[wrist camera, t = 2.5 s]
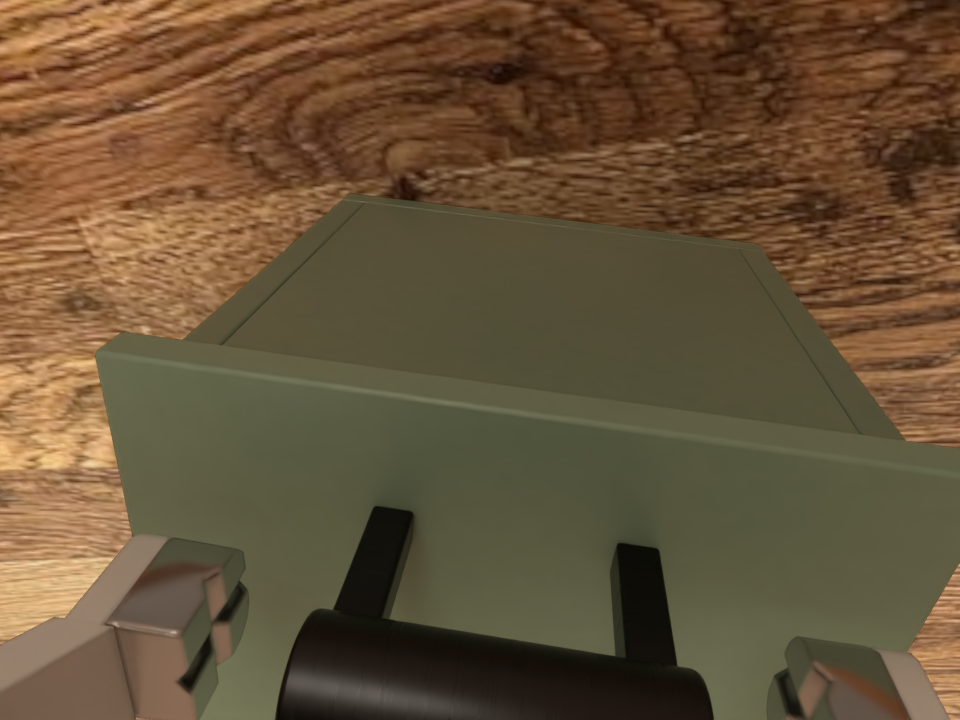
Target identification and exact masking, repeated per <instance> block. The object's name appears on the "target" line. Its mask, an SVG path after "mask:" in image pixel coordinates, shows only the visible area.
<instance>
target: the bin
mask: <svg viewBox="0 0 960 720" xmlns="http://www.w3.org/2000/svg"><path fill="white" fill-rule="evenodd" d="M183 340H187V341H194V342H201V343H208V344H215V345H222V346H230V347H237V348H244V349H251V350H258V351H265V352H273V353H280V354H287V355H294V356H301V357H308V358H316V359H323V360H330V361H337V362H344V363H351V364H359V365H366V366H373V367H380V368H387V369H395V370H402V371H409V372H416V373H423V374H430V375H438V376H445V377H452V378H459V379H466V380H473V381H481V382H488V383H495V384H502V385H509V386H516V387H524V388H531V389H538V390H545V391H552V392H559V393H567V394H574V395H581V396H588V397H595V398H602V399H610V400H617V401H624V402H631V403H638V404H645V405H653V406H660V407H667V408H674V409H681V410H688V411H696V412H703V413H710V414H717V415H724V416H731V417H739V418H746V419H753V420H760V421H767V422H774V423H782V424H789V425H796V426H803V427H810V428H817V429H825V430H832V431H839V432H846V433H853V434H860V435H868V436H875V437H882V438H889V439H896V440H903V441H906V440H905V439H904V438H903V436H902V435H901V434H900V432H899V431H898V430H897V428H896V427H895V426H894V424H893V423H892V422H891V420H890V419H889V418H888V416H887V415H886V414H885V412H884V411H883V410H882V408H881V407H880V406H879V404H878V403H877V402H876V401H875V399H874V398H873V397H872V395H871V394H870V393H869V391H868V390H867V389H866V387H865V386H864V385H863V383H862V382H861V381H860V379H859V378H858V377H857V375H856V374H855V373H854V371H853V370H852V369H851V367H850V366H849V365H848V363H847V362H846V361H845V359H844V358H843V357H842V355H841V354H840V353H839V351H838V350H837V349H836V347H835V346H834V345H833V344H832V342H831V341H830V340H829V338H828V337H827V336H826V334H825V333H824V332H823V330H822V329H821V328H820V326H819V325H818V324H817V322H816V321H815V320H814V318H813V317H812V316H811V314H810V313H809V312H808V310H807V309H806V308H805V306H804V305H803V304H802V302H801V301H800V300H799V298H798V297H797V296H796V294H795V293H794V292H793V291H792V289H791V288H790V287H789V285H788V284H787V283H786V281H785V280H784V279H783V277H782V276H781V275H780V273H779V272H778V271H777V269H776V268H775V267H774V265H773V264H772V263H771V261H770V260H769V259H768V257H767V256H766V255H765V253H764V252H763V250H762V249H761V248H760V246H759V245H758V244H757V243H749V242H741V241H733V240H724V239H716V238H708V237H700V236H692V235H684V234H676V233H668V232H660V231H652V230H644V229H635V228H627V227H619V226H611V225H603V224H595V223H587V222H579V221H571V220H563V219H555V218H546V217H538V216H530V215H522V214H514V213H506V212H498V211H490V210H482V209H474V208H466V207H457V206H449V205H441V204H433V203H425V202H417V201H409V200H401V199H393V198H385V197H377V196H368V195H360V194H352V193H349V194H347V195H346V196H345V197H344V198H343V199H342V200H341V201H340V202H339V203H338V204H337V205H336V206H335V207H333V208H332V209H331V210H330V211H329V212H328V213H327V214H325V215H324V216H323V217H322V218H321V219H320V220H319V221H317V222H316V223H315V224H314V225H313V226H312V227H311V228H309V229H308V230H307V231H306V232H305V233H304V234H303V235H301V236H300V237H299V238H298V239H297V240H296V241H295V242H293V243H292V244H291V245H290V246H289V247H288V248H287V249H285V250H284V251H283V252H282V253H281V254H280V255H279V256H277V257H276V258H275V259H274V260H273V261H272V262H271V263H269V264H268V265H267V266H266V267H265V268H264V269H263V270H261V271H260V272H259V273H258V274H257V275H256V276H255V277H253V278H252V279H251V280H250V281H249V282H248V283H247V284H245V285H244V286H243V287H242V288H241V289H240V290H239V291H237V292H236V293H235V294H234V295H233V296H232V297H231V298H229V299H228V300H227V301H226V302H225V303H224V304H223V305H221V306H220V307H219V308H218V309H217V310H216V311H215V312H213V313H212V314H211V315H210V316H209V317H208V318H207V319H205V320H204V321H203V322H202V323H201V324H200V325H199V326H197V327H196V328H195V329H194V330H193V331H192V332H191V333H189V334H188V335H187V336H186V337H185V338H184V339H183Z"/></svg>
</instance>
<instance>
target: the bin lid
mask: <svg viewBox="0 0 960 720" xmlns="http://www.w3.org/2000/svg"><path fill="white" fill-rule="evenodd" d="M95 358H96V363H97V368H98V373H99V378H100V382H101V387H102V392H103V397H104V402H105V406H106V411H107V416H108V421H109V426H110V431H111V435H112V440H113V445H114V450H115V455H116V460H117V464H118V469H119V474H120V479H121V484H122V489H123V493H124V498H125V503H126V508H127V513H128V517H129V522H130V527H131V532H132V537H134V536H136V535H137V534H139V533H141V532H146V533H151V534H157V535H162V536H168V537H173V538H174V537H176V538H182V539H187V540H192V541H198V542H203V543H209V544H214V545H220V546H225V547H230V548H236V549H239V550H241V551H244V558H245V564H246V569H245V571H244V573H243V574H242V576H241V578H240V581H241V582H242V583H243V585H244V586H245V587H246V588H247V589H248V592H249V611H248V619H247V622H246V625H245V629H244V632H243V635H242V638H241V640H240V642H239V644H238V646H237V648H236V650H235V652H234V655H233V656H231V657H230V658H228V659H227V660H225V661H224V662H223V663H221V664H220V665H218V666H217V672H218V680H219V684H218V685H217V687H216V689H215V691H214V693H213V695H212V697H211V699H210V701H209V703H208V705H207V706H206V708H205V710H204V712H203V714H202V716H201V718H200V720H767V713H766V708H767V696H768V690H769V687H770V684H771V682H772V679H773V677H774V675H775V674H777V673H778V672H780V671H782V670H784V669H786V668H787V667H788V665H787V662H786V659H785V656H784V652H785V650H786V648H787V646H788V644H789V642H790V641H791V640H792V639H793V638H795V637H796V636H801V637H807V638H814V639H821V640H828V641H835V642H842V643H849V644H856V645H862V646H867V647H869V648H871V647H874V648H881V649H887V650H894V651H901V652H907V651H908V650H909V648H910V646H911V645H912V643H913V641H914V639H915V638H916V636H917V634H918V633H919V631H920V629H921V628H922V626H923V624H924V622H925V621H926V619H927V617H928V616H929V614H930V612H931V611H932V609H933V607H934V605H935V604H936V602H937V600H938V599H939V597H940V595H941V593H942V592H943V590H944V588H945V587H946V585H947V583H948V582H949V580H950V578H951V576H952V575H953V573H954V571H955V570H956V568H957V566H958V565H959V563H960V448H954V447H946V446H939V445H932V444H925V443H918V442H911V441H903V440H896V439H889V438H882V437H875V436H868V435H860V434H853V433H846V432H839V431H832V430H825V429H817V428H810V427H803V426H796V425H789V424H782V423H774V422H767V421H760V420H753V419H746V418H739V417H731V416H724V415H717V414H710V413H703V412H696V411H688V410H681V409H674V408H667V407H660V406H653V405H645V404H638V403H631V402H624V401H617V400H610V399H602V398H595V397H588V396H581V395H574V394H567V393H559V392H552V391H545V390H538V389H531V388H524V387H516V386H509V385H502V384H495V383H488V382H481V381H473V380H466V379H459V378H452V377H445V376H438V375H430V374H423V373H416V372H409V371H402V370H395V369H387V368H380V367H373V366H366V365H359V364H351V363H344V362H337V361H330V360H323V359H316V358H308V357H301V356H294V355H287V354H280V353H273V352H265V351H258V350H251V349H244V348H237V347H230V346H222V345H215V344H208V343H201V342H194V341H187V340H179V339H172V338H165V337H158V336H151V335H144V334H136V333H129V332H123V333H120V334H118V335H117V336H116V337H114V338H113V339H112V340H110V341H109V342H108V343H106V344H105V345H104V346H102V347H101V348H100V349H98V350H97V351H96V354H95Z"/></svg>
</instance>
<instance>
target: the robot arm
mask: <svg viewBox="0 0 960 720" xmlns="http://www.w3.org/2000/svg"><path fill="white" fill-rule="evenodd" d="M245 569H246V564H245V558H244V551H241V550H239V549H236V548H230V547H225V546H220V545H214V544H209V543H203V542H198V541H192V540H187V539H182V538H176V537H174V538H173V537H168V536H162V535H157V534H151V533H146V532H141V533H139V534H137V535H136V536H134V537H132V538H131V539H130V540H129V541H128V542H127V543H126V545H125V546H124V547H123V548H122V550H121V551H120V552H119V553H118V554H117V556H116V557H115V558H114V559H113V560H112V562H111V563H110V564H109V565H108V566H107V568H106V569H105V570H104V571H103V572H102V574H101V575H100V576H99V577H98V579H97V580H96V581H95V582H94V583H93V585H92V586H91V587H90V588H89V589H88V591H87V592H86V593H85V594H84V595H83V597H82V598H81V599H80V600H79V601H78V603H77V604H76V605H75V606H74V608H73V609H72V610H71V611H70V612H69V614H68V615H67V616H66V617H65V618H59V617H53V618H51V619H49V620H47V621H45V622H44V623H42V624H40V625H38V626H36V627H34V628H32V629H30V630H28V631H26V632H24V633H22V634H20V635H19V636H17V637H15V638H13V639H11V640H9V641H7V642H5V643H3V644H1V645H0V720H136V718H135V717H137V718H144V719H151V720H200V718H201V716H202V714H203V712H204V710H205V708H206V706H207V705H208V703H209V701H210V699H211V697H212V695H213V693H214V691H215V689H216V687H217V685H218V684H219V680H218V672H217V666H218V665H220V664H221V663H223V662H224V661H225V660H227V659H228V658H230V657H231V656H233V655H234V652H235V650H236V648H237V646H238V644H239V642H240V640H241V638H242V635H243V632H244V629H245V625H246V622H247V619H248V611H249V592H248V589H247V588H246V587H245V586H244V585H243V583H242V582H241V581H240V578H241V576H242V574H243V573H244V571H245ZM784 656H785V659H786V662H787V665H788V667H787V668H786V669H784V670H782V671H780V672H778V673H777V674H775V675H774V677H773V679H772V682H771V684H770V687H769V690H768V696H767V708H766V713H767V720H950V718H949V716H948V714H947V712H946V710H945V709H944V707H943V705H942V703H941V701H940V699H939V697H938V696H937V694H936V692H935V690H934V688H933V686H932V684H931V682H930V681H929V679H928V677H927V675H926V673H925V671H924V669H923V668H922V666H921V664H920V662H919V661H918V659H916V658H915V657H914V656H913V655H912V654H911V653H907V652H901V651H894V650H887V649H881V648H874V647H871V648H869V647H867V646H862V645H856V644H849V643H842V642H835V641H828V640H821V639H814V638H807V637H801V636H796V637H795V638H793V639H792V640H791V641H790V642H789V644H788V646H787V648H786V650H785V652H784Z"/></svg>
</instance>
